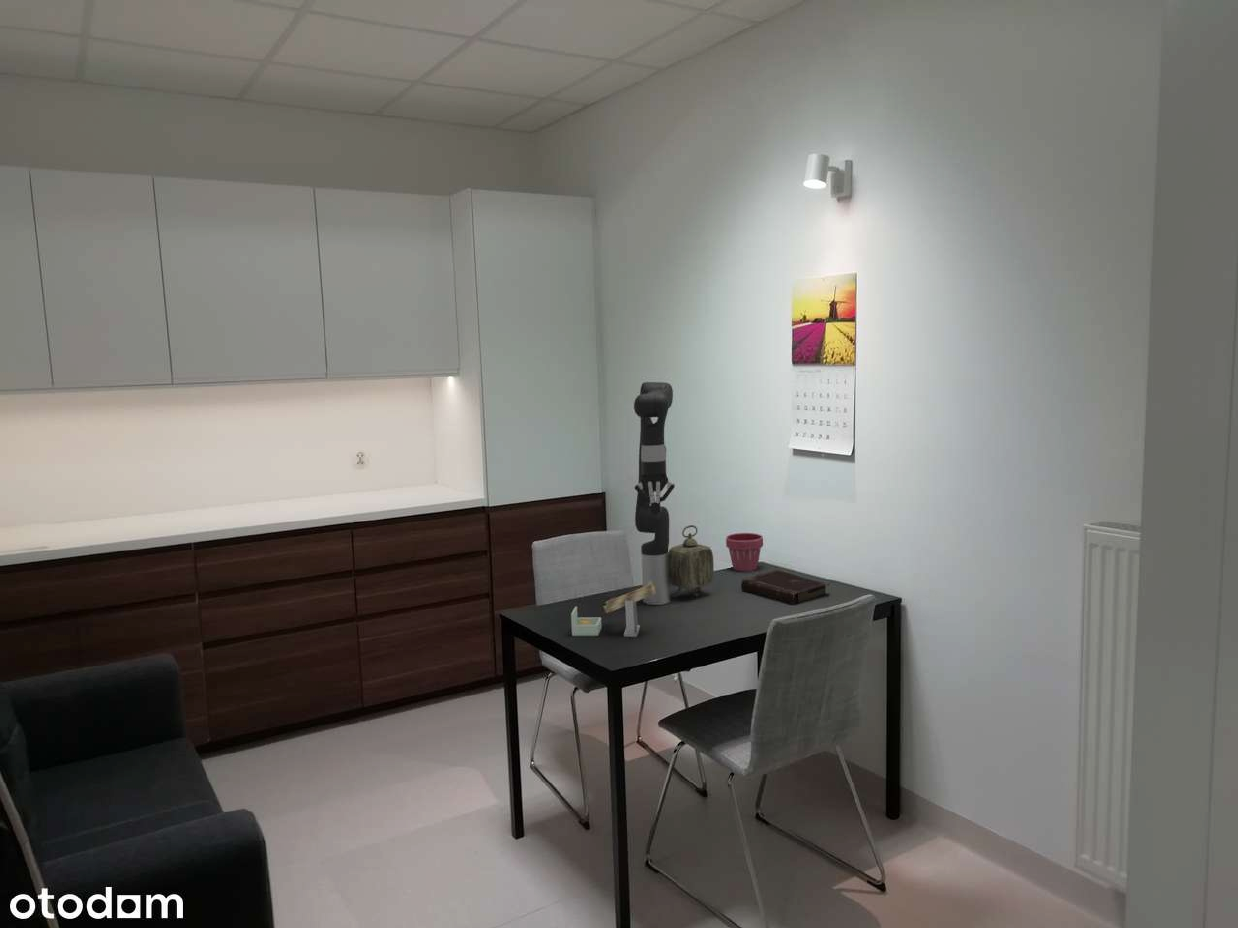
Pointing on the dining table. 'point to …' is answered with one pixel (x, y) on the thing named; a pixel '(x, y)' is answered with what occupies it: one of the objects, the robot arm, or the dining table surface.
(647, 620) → the dining table surface
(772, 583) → the diary
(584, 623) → the ball
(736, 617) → the dining table surface
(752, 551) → the plant pot
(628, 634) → the fulcrum
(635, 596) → the lever
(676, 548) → the tabletop clock
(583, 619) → the pale green cubby shelf
